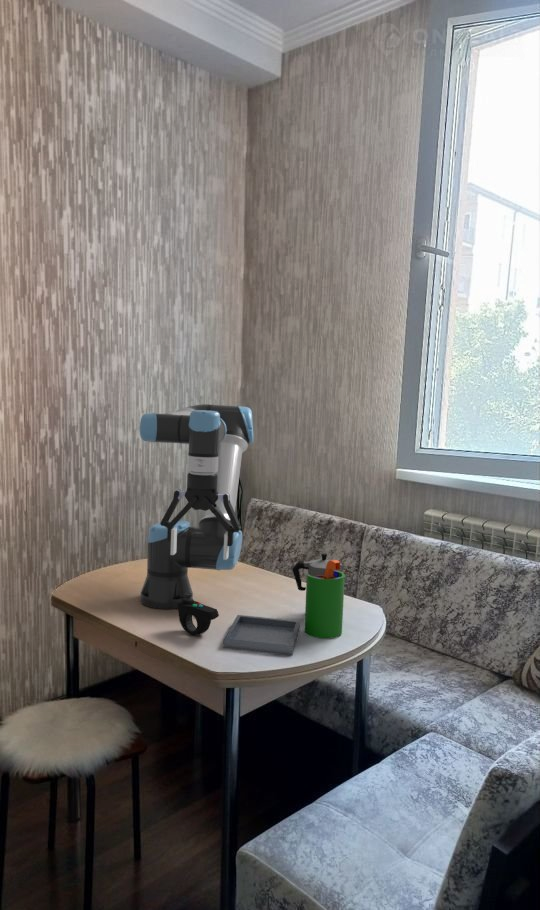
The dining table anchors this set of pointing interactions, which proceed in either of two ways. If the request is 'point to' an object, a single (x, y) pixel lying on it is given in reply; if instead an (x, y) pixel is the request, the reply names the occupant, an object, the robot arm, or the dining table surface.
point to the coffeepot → (312, 569)
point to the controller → (195, 615)
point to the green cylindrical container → (325, 602)
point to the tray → (263, 635)
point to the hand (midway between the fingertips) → (199, 556)
